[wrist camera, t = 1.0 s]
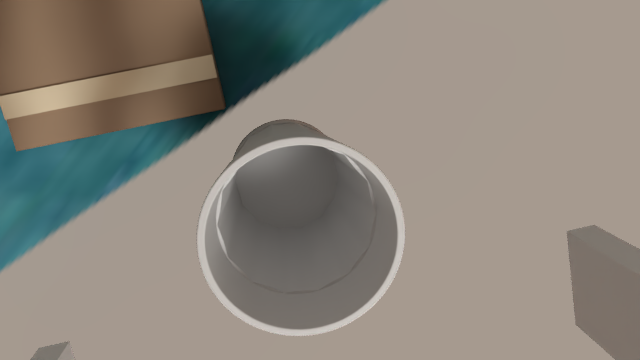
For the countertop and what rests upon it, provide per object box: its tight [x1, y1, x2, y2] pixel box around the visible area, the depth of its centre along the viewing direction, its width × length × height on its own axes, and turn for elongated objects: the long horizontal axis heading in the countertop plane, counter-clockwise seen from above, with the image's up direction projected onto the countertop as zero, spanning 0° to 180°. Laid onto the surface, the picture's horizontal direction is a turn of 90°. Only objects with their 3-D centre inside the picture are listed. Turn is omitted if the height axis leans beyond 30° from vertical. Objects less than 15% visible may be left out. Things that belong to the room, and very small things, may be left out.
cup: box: [197, 119, 405, 336], centre depth 28 cm, size 8×8×12 cm
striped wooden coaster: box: [0, 0, 226, 151], centre depth 30 cm, size 11×11×2 cm
